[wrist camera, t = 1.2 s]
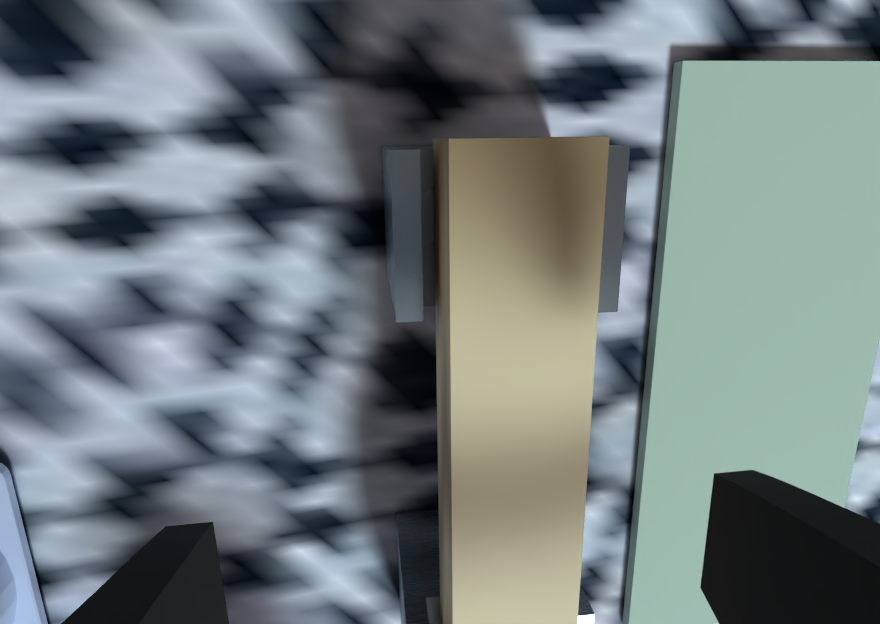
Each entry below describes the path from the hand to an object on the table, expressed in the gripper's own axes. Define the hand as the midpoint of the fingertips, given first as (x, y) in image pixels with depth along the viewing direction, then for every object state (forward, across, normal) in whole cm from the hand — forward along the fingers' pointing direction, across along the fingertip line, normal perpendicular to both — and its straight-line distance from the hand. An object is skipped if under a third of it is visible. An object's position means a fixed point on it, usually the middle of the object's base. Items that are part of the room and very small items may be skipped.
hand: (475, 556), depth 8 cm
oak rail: (+6, -2, +2) cm, 7 cm away
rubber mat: (+10, -12, +2) cm, 16 cm away
